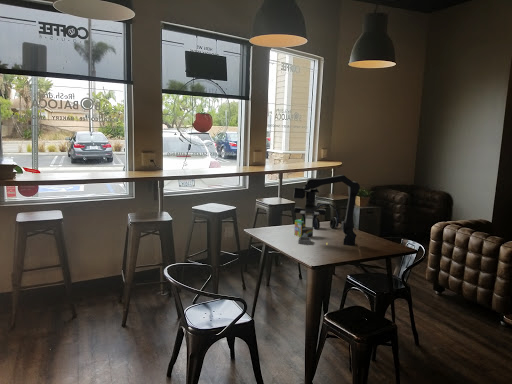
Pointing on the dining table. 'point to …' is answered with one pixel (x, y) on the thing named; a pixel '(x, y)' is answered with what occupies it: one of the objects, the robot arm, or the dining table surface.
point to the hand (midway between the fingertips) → (308, 224)
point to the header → (304, 240)
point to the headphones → (333, 222)
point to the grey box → (309, 221)
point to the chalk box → (302, 229)
